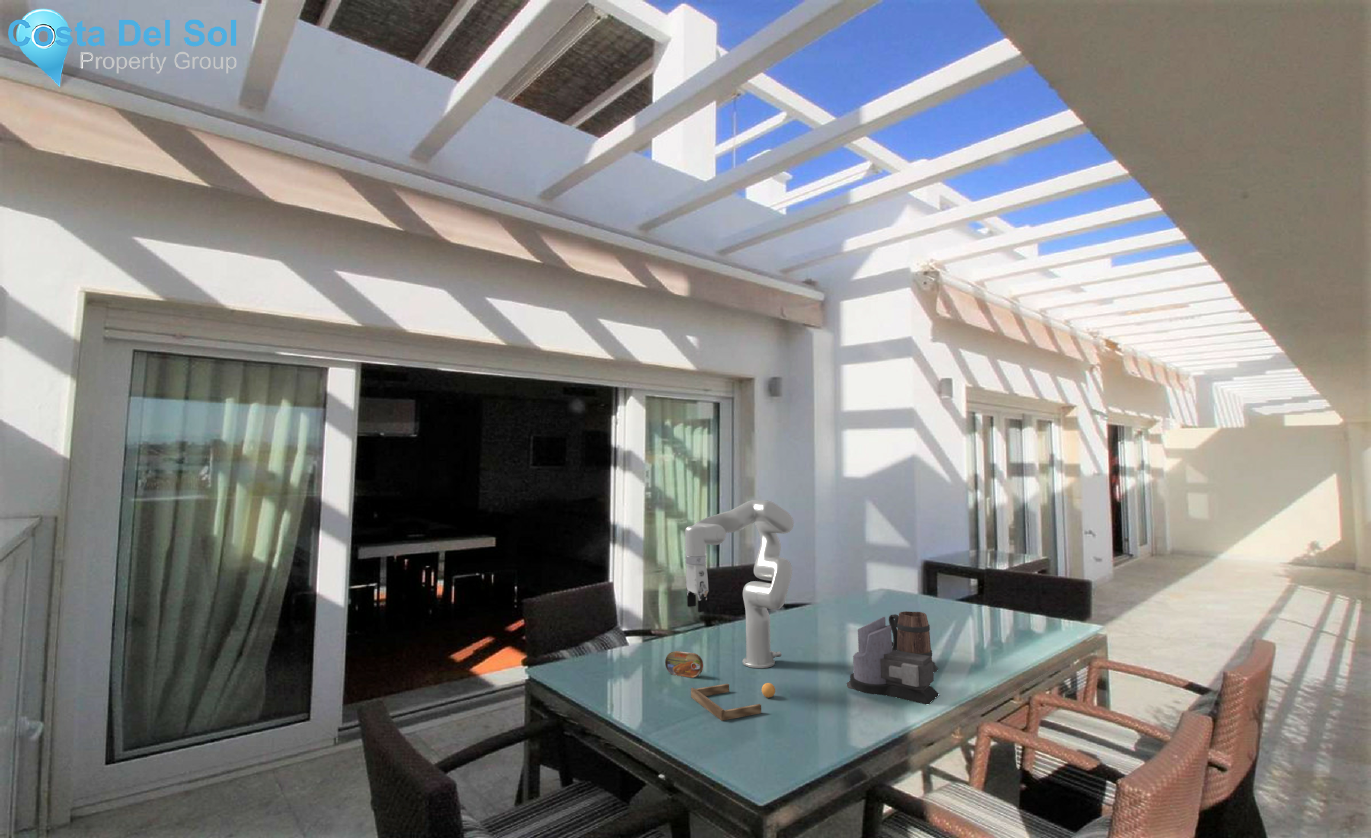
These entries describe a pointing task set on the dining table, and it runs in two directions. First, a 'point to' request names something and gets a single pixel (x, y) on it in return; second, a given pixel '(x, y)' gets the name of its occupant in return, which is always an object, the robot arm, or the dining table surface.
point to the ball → (768, 690)
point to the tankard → (911, 633)
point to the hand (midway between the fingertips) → (696, 608)
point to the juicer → (890, 667)
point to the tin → (684, 664)
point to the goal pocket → (716, 710)
